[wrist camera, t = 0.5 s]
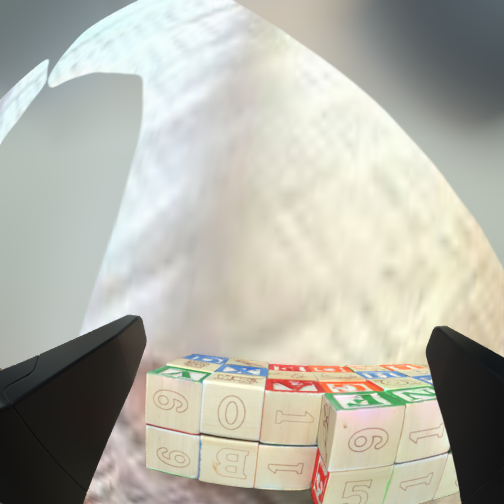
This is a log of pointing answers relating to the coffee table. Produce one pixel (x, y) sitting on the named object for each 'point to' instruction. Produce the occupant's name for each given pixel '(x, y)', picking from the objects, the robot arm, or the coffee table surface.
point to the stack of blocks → (301, 429)
